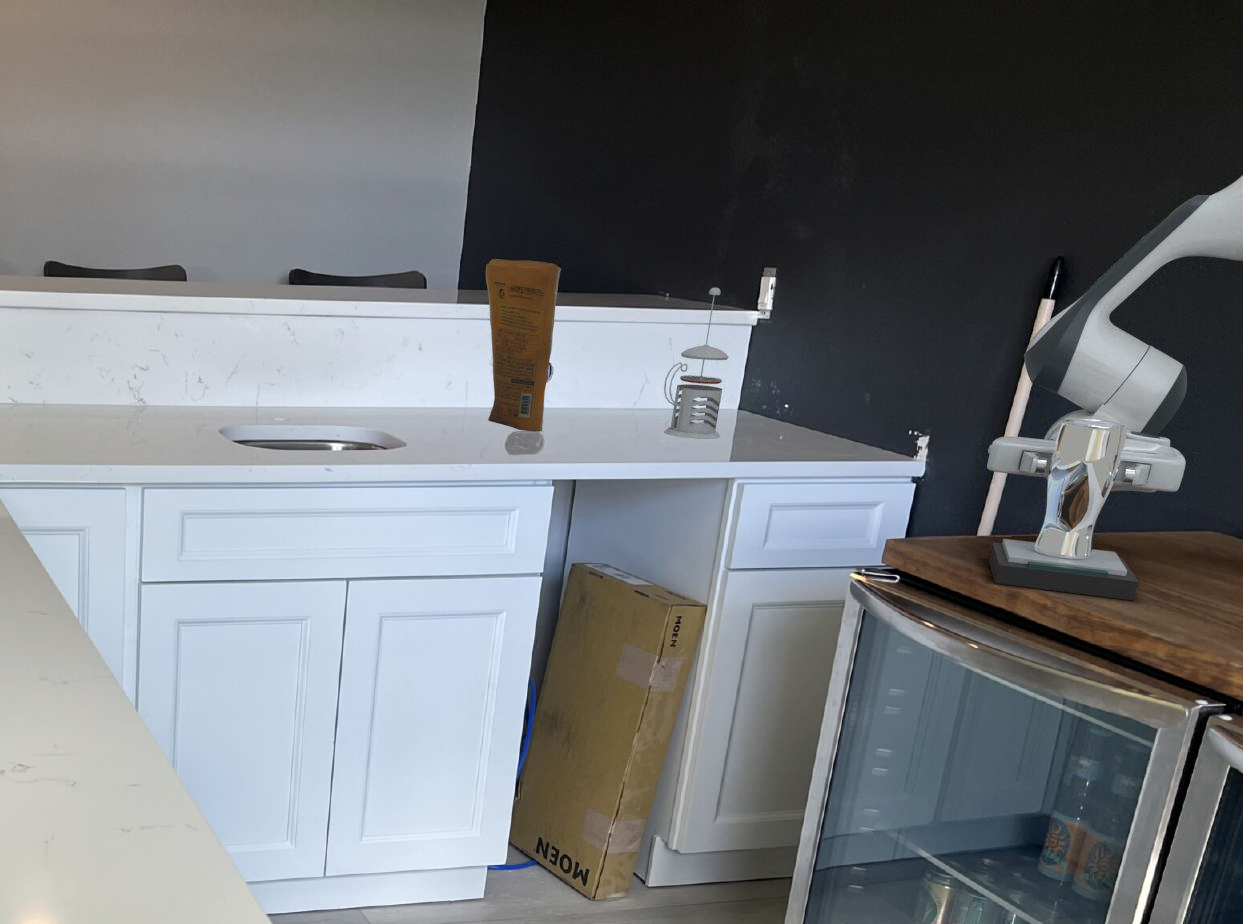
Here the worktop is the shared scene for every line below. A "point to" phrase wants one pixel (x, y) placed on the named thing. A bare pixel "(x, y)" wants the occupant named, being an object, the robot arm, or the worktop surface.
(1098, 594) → the kitchen scale
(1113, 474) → the beer glass
